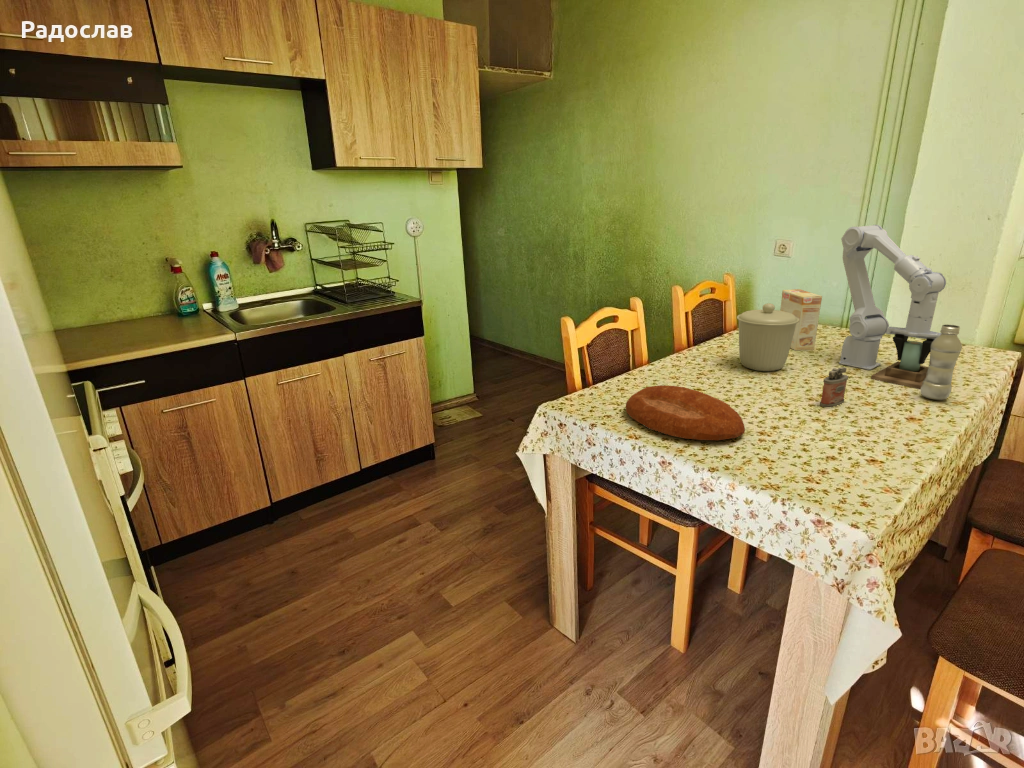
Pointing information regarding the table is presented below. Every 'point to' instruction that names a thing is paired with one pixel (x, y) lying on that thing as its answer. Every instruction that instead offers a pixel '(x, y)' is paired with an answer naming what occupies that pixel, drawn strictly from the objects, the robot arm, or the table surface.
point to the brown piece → (901, 376)
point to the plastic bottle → (942, 364)
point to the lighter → (834, 388)
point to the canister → (765, 337)
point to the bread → (684, 413)
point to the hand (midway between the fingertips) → (910, 361)
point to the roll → (911, 356)
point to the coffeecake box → (802, 316)
